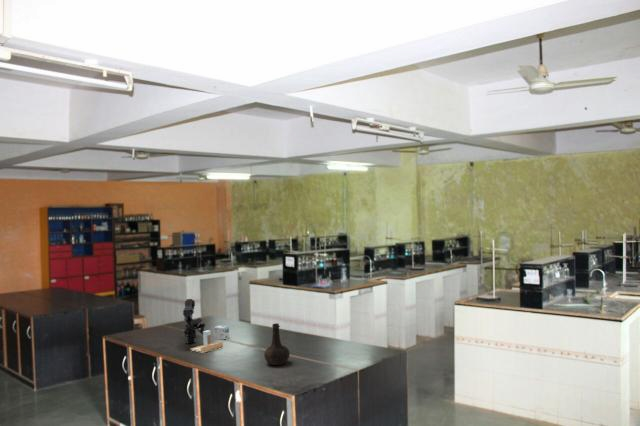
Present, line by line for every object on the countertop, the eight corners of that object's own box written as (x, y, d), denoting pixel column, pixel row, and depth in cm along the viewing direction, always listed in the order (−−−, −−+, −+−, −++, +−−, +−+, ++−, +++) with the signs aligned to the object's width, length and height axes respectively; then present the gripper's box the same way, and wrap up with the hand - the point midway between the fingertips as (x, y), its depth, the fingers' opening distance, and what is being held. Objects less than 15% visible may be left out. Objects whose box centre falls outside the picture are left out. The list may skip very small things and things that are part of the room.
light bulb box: (229, 338, 440) (229, 325, 440) (225, 340, 434) (224, 327, 434) (219, 337, 444) (219, 325, 444) (214, 339, 438) (214, 327, 438)
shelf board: (190, 351, 403) (189, 348, 403) (211, 345, 418) (210, 342, 418) (201, 354, 393) (201, 351, 393) (222, 348, 407) (222, 345, 407)
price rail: (201, 351, 393) (200, 347, 393) (222, 345, 408) (221, 341, 408) (201, 351, 393) (201, 347, 393) (222, 345, 407) (222, 342, 407)
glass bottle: (273, 369, 346) (271, 328, 346) (260, 363, 361) (258, 324, 361) (294, 363, 357) (293, 323, 357) (281, 358, 371) (279, 320, 371)
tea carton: (203, 347, 404) (203, 331, 404) (208, 346, 407) (207, 330, 407) (207, 348, 401) (206, 331, 401) (211, 347, 405) (211, 330, 405)
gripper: (185, 317, 404) (195, 332, 398) (203, 313, 420) (213, 327, 414) (179, 326, 409) (189, 341, 403) (197, 322, 424) (207, 336, 418)
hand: (200, 336), depth 409 cm, fingers open, 9 cm apart
